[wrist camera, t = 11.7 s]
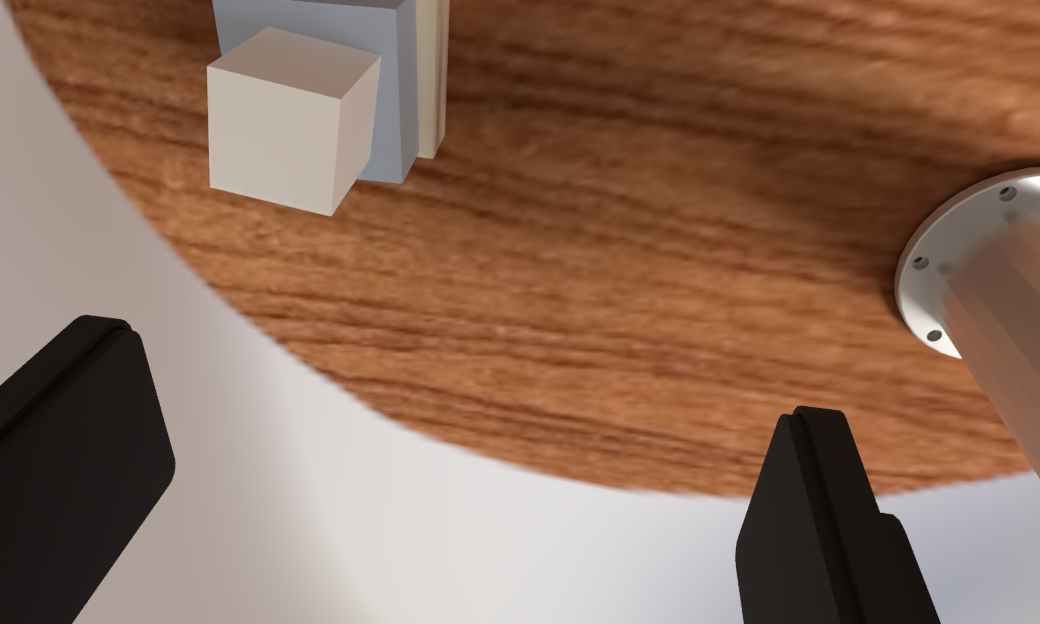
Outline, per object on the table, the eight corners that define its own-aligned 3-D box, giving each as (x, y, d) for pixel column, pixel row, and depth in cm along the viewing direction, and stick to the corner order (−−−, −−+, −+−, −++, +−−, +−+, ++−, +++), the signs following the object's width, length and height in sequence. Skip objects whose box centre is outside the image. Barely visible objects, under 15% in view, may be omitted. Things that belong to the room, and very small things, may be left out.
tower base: (452, -39, 37) (437, -24, 34) (446, 131, 42) (433, 159, 39) (277, -60, 37) (245, -47, 34) (292, 112, 43) (266, 138, 39)
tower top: (415, -11, 34) (395, 9, 31) (419, 151, 39) (402, 183, 36) (248, -24, 35) (210, -7, 31) (270, 138, 39) (240, 168, 36)
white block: (381, 54, 32) (340, 99, 27) (369, 159, 35) (331, 216, 30) (268, 26, 32) (206, 65, 27) (266, 133, 35) (209, 187, 30)
